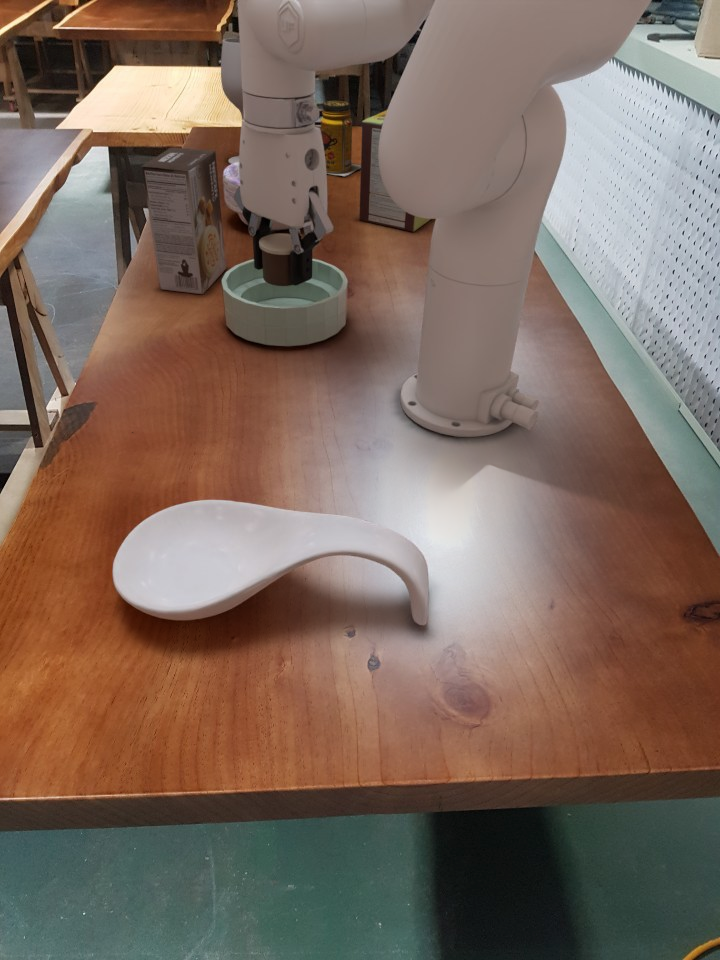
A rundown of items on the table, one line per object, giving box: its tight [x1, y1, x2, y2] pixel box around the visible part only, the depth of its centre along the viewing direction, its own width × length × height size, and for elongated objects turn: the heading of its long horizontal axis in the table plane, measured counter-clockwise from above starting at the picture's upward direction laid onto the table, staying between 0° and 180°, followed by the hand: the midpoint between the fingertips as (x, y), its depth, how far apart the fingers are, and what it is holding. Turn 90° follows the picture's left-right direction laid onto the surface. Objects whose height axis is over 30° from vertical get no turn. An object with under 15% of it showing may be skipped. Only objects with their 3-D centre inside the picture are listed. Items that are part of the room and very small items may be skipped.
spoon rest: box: [112, 499, 430, 626], centre depth 53 cm, size 24×12×7 cm, turn 86°
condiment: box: [320, 100, 361, 177], centre depth 138 cm, size 7×8×12 cm
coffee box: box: [141, 147, 227, 295], centre depth 94 cm, size 9×6×16 cm
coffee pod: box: [259, 232, 294, 286], centre depth 86 cm, size 5×5×4 cm
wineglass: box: [220, 37, 244, 165], centre depth 137 cm, size 8×8×21 cm
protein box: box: [358, 109, 431, 233], centre depth 118 cm, size 10×15×16 cm
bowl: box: [221, 258, 349, 347], centre depth 89 cm, size 15×15×6 cm
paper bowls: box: [222, 162, 289, 231], centre depth 115 cm, size 15×15×8 cm
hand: (283, 272), depth 87 cm, fingers closed on coffee pod, 5 cm apart
